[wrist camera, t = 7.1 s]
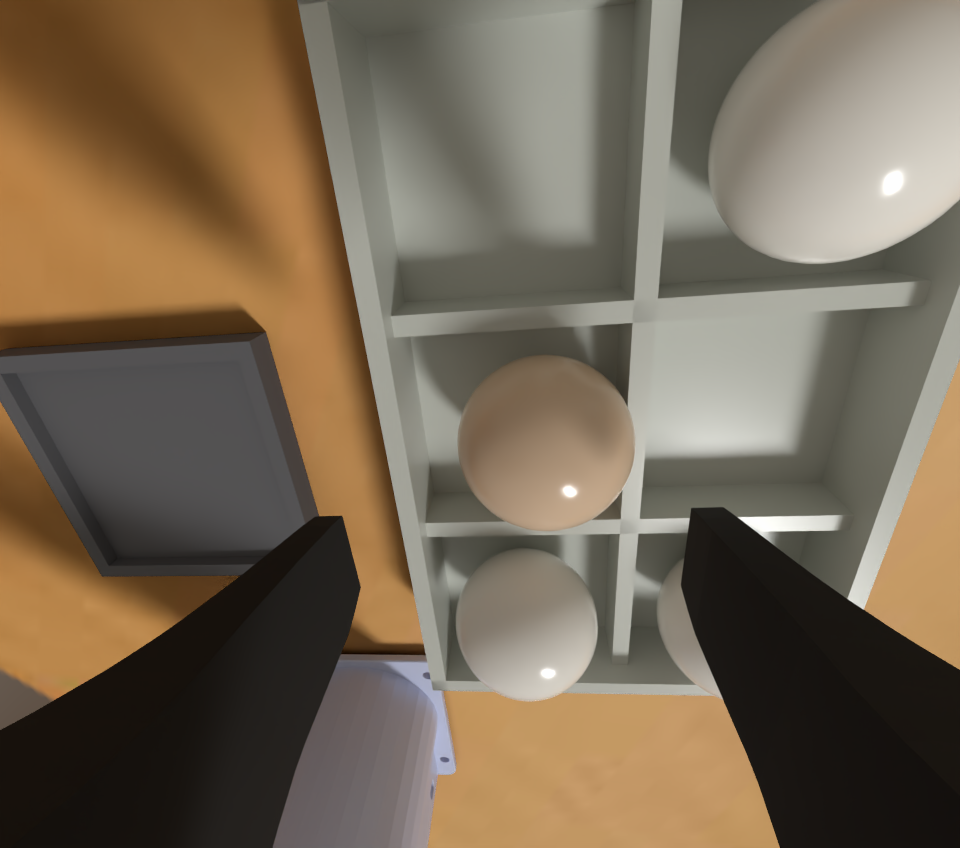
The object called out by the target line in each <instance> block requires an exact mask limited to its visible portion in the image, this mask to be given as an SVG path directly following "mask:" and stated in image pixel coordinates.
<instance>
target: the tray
mask: <svg viewBox="0 0 960 848" xmlns="http://www.w3.org/2000/svg"><path fill="white" fill-rule="evenodd" d="M816 1H818V0H297V2H298V7H299V12H300V17H301V23H302V28H303V33H304V38H305V43H306V48H307V53H308V58H309V63H310V68H311V73H312V78H313V84H314V89H315V94H316V99H317V104H318V109H319V114H320V119H321V124H322V129H323V134H324V140H325V145H326V150H327V155H328V160H329V165H330V170H331V175H332V180H333V185H334V190H335V195H336V201H337V206H338V211H339V216H340V221H341V226H342V231H343V236H344V241H345V246H346V251H347V256H348V262H349V267H350V272H351V277H352V282H353V287H354V292H355V297H356V302H357V307H358V312H359V317H360V323H361V328H362V333H363V338H364V343H365V348H366V353H367V358H368V363H369V368H370V373H371V378H372V384H373V389H374V394H375V399H376V404H377V409H378V414H379V419H380V424H381V429H382V434H383V439H384V445H385V450H386V455H387V460H388V465H389V470H390V475H391V480H392V485H393V490H394V495H395V500H396V506H397V511H398V516H399V521H400V526H401V531H402V536H403V541H404V546H405V551H406V556H407V561H408V567H409V572H410V577H411V582H412V587H413V592H414V597H415V602H416V607H417V612H418V617H419V622H420V628H421V633H422V638H423V643H424V648H425V653H426V658H427V663H428V668H429V673H430V678H431V683H432V689H433V691H486V692H494V691H493V690H491V689H490V688H488V687H487V686H486V685H484V684H483V683H482V682H481V681H480V680H479V679H478V678H477V677H476V676H475V674H474V673H473V672H472V670H471V669H470V667H469V666H468V664H467V663H466V661H465V659H464V657H463V654H462V652H461V650H460V646H459V642H458V638H457V633H456V611H457V605H458V601H459V597H460V594H461V592H462V590H463V587H464V585H465V583H466V582H467V580H468V579H469V577H470V576H471V574H472V573H473V572H474V571H475V570H476V569H477V568H478V567H479V566H480V565H481V564H482V563H483V562H484V561H486V560H487V559H489V558H490V557H492V556H494V555H496V554H498V553H500V552H503V551H506V550H510V549H516V548H532V549H538V550H542V551H546V552H549V553H551V554H553V555H555V556H557V557H559V558H560V559H562V560H563V561H565V562H566V563H568V564H569V565H570V566H571V567H572V568H573V569H574V570H575V571H576V572H577V573H578V574H579V575H580V576H581V578H582V579H583V581H584V582H585V584H586V585H587V587H588V589H589V591H590V594H591V596H592V598H593V601H594V604H595V608H596V612H597V620H598V636H597V643H596V647H595V651H594V654H593V657H592V659H591V661H590V664H589V665H588V667H587V669H586V670H585V672H584V673H583V675H582V676H581V677H580V678H579V680H577V681H576V682H575V683H574V684H573V685H572V686H571V687H570V688H569V689H567V690H566V691H564V692H562V693H595V694H650V695H704V696H714V695H712V694H710V693H708V692H706V691H705V690H703V689H702V688H700V687H699V686H697V685H696V684H695V683H693V682H692V681H691V680H690V679H689V678H688V677H687V676H686V675H685V674H684V673H683V672H682V671H681V670H680V669H679V668H678V666H677V665H676V664H675V662H674V661H673V660H672V658H671V656H670V655H669V653H668V651H667V649H666V648H665V645H664V643H663V640H662V638H661V635H660V632H659V627H658V622H657V599H658V594H659V591H660V588H661V585H662V583H663V581H664V579H665V577H666V576H667V574H668V572H669V571H670V570H671V569H672V567H673V566H674V565H675V564H676V563H677V562H679V561H680V560H681V559H682V558H684V556H685V549H686V542H687V535H688V527H689V520H690V513H691V508H705V507H724V508H725V509H727V510H728V511H730V512H731V513H732V514H734V515H735V516H736V517H738V518H739V519H740V520H742V521H743V522H744V523H746V524H747V525H748V526H750V527H751V528H752V529H754V530H755V531H756V532H757V533H759V534H760V535H761V536H763V537H764V538H765V539H767V540H768V541H769V542H770V543H772V544H773V545H774V546H776V547H777V548H778V549H780V550H781V551H782V552H784V553H785V554H786V555H788V556H789V557H790V558H792V559H793V560H794V561H796V562H797V563H798V564H800V565H801V566H802V567H804V568H805V569H806V570H808V571H809V572H810V573H812V574H813V575H814V576H816V577H817V578H819V579H820V580H821V581H823V582H824V583H826V584H827V585H828V586H830V587H831V588H833V589H834V590H835V591H837V592H838V593H840V594H841V595H843V596H844V597H845V598H847V599H848V600H850V601H851V602H853V603H854V604H856V605H857V606H859V607H860V608H862V609H863V610H864V607H865V604H866V602H867V599H868V597H869V594H870V591H871V589H872V586H873V584H874V581H875V578H876V576H877V573H878V571H879V568H880V565H881V563H882V560H883V557H884V555H885V552H886V550H887V547H888V544H889V542H890V539H891V537H892V534H893V531H894V529H895V526H896V524H897V521H898V518H899V516H900V513H901V511H902V508H903V505H904V503H905V500H906V497H907V495H908V492H909V490H910V487H911V484H912V482H913V479H914V477H915V474H916V471H917V469H918V466H919V464H920V461H921V458H922V456H923V453H924V451H925V448H926V445H927V443H928V440H929V437H930V435H931V432H932V430H933V427H934V424H935V422H936V419H937V417H938V414H939V411H940V409H941V406H942V404H943V401H944V398H945V396H946V393H947V390H948V388H949V385H950V383H951V380H952V377H953V375H954V372H955V370H956V367H957V364H958V362H959V359H960V200H959V201H958V202H957V203H955V204H954V205H953V206H952V207H951V208H950V209H949V210H948V211H946V212H945V213H944V214H943V215H942V216H940V217H939V218H938V219H936V220H935V221H934V222H932V223H931V224H930V225H928V226H927V227H925V228H923V229H922V230H920V231H918V232H917V233H915V234H914V235H912V236H910V237H908V238H907V239H905V240H903V241H901V242H899V243H897V244H895V245H893V246H891V247H889V248H886V249H883V250H881V251H878V252H875V253H873V254H870V255H866V256H863V257H860V258H856V259H852V260H848V261H842V262H834V263H825V264H803V263H795V262H787V261H782V260H779V259H775V258H772V257H769V256H767V255H765V254H763V253H760V252H758V251H756V250H754V249H752V248H751V247H749V246H748V245H746V244H745V243H743V242H742V241H741V240H740V239H739V238H738V237H737V236H736V235H735V234H733V233H732V231H731V230H730V229H729V228H728V227H727V225H726V224H725V223H724V221H723V220H722V218H721V216H720V215H719V213H718V211H717V209H716V206H715V204H714V201H713V198H712V195H711V190H710V185H709V177H708V154H709V146H710V140H711V135H712V131H713V128H714V124H715V121H716V118H717V115H718V113H719V110H720V108H721V105H722V103H723V101H724V99H725V97H726V95H727V93H728V91H729V89H730V87H731V86H732V84H733V82H734V81H735V79H736V78H737V76H738V75H739V73H740V72H741V70H742V69H743V68H744V66H745V65H746V64H747V62H748V61H749V60H750V59H751V58H752V56H753V55H754V54H755V53H756V51H757V50H758V49H759V48H760V47H761V46H762V45H763V44H764V43H765V42H766V41H767V40H768V39H769V38H770V37H771V36H772V35H773V34H774V33H775V32H776V31H777V30H778V29H780V28H781V27H782V26H783V25H784V24H786V23H787V22H788V21H789V20H791V19H792V18H793V17H794V16H796V15H797V14H798V13H800V12H801V11H803V10H804V9H806V8H807V7H809V6H810V5H812V4H813V3H815V2H816ZM544 354H545V355H558V356H563V357H569V358H572V359H575V360H578V361H581V362H583V363H585V364H587V365H589V366H591V367H593V368H594V369H596V370H597V371H598V372H600V373H601V374H602V375H603V376H605V377H606V378H607V379H608V380H609V381H610V382H611V383H612V384H613V385H614V386H615V387H616V389H617V390H618V391H619V393H620V394H621V396H622V397H623V399H624V401H625V403H626V405H627V407H628V409H629V411H630V414H631V417H632V420H633V425H634V430H635V437H636V445H635V457H634V463H633V467H632V470H631V473H630V475H629V478H628V480H627V482H626V484H625V486H624V488H623V490H622V491H621V493H620V494H619V496H618V497H617V498H616V499H615V501H614V502H613V503H612V504H611V505H610V506H609V507H608V508H607V509H606V510H604V511H603V512H602V513H601V514H599V515H598V516H596V517H595V518H593V519H592V520H590V521H588V522H586V523H584V524H581V525H579V526H576V527H573V528H569V529H565V530H560V531H535V530H529V529H525V528H521V527H518V526H515V525H512V524H510V523H508V522H506V521H504V520H502V519H501V518H499V517H498V516H496V515H495V514H493V513H492V512H490V511H489V510H488V509H487V508H486V507H485V506H484V505H483V504H482V503H481V502H480V501H479V500H478V499H477V497H476V496H475V495H474V493H473V492H472V490H471V489H470V487H469V485H468V483H467V482H466V480H465V477H464V474H463V472H462V469H461V466H460V462H459V457H458V446H457V437H458V428H459V424H460V420H461V416H462V413H463V410H464V408H465V405H466V403H467V402H468V400H469V398H470V396H471V395H472V393H473V392H474V390H475V389H476V388H477V387H478V385H479V384H480V383H481V382H482V381H483V380H484V379H485V378H486V377H487V376H489V375H490V374H491V373H492V372H494V371H495V370H497V369H498V368H500V367H501V366H503V365H505V364H507V363H509V362H511V361H514V360H517V359H519V358H523V357H528V356H534V355H544Z"/></svg>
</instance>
